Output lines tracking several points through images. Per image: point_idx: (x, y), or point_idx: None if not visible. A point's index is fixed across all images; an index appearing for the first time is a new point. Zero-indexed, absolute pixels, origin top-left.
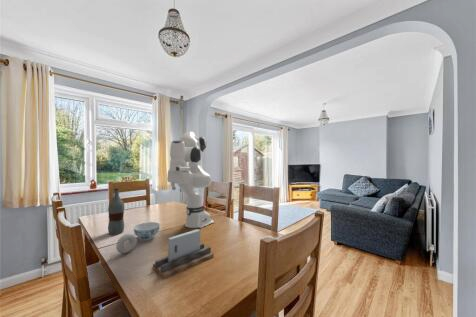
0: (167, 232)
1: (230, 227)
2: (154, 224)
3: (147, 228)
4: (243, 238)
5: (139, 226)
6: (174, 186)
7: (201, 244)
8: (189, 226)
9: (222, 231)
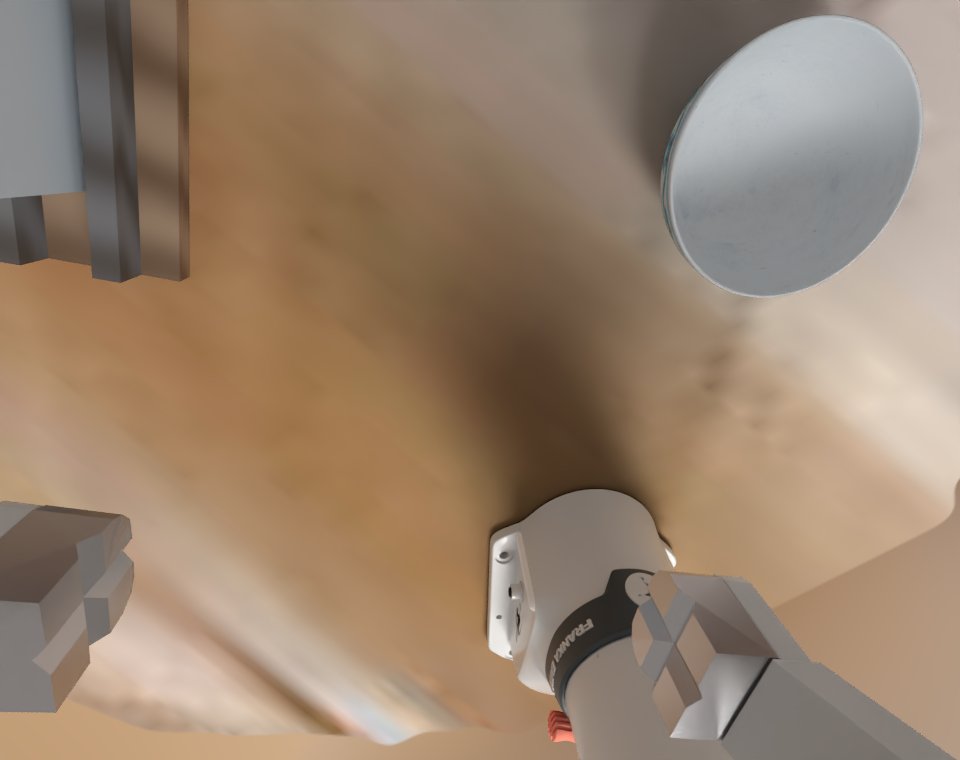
0: (660, 344)
1: (324, 643)
2: (786, 280)
3: (816, 226)
4: None
5: (891, 157)
6: (746, 744)
7: (101, 257)
8: (575, 499)
9: (315, 571)
